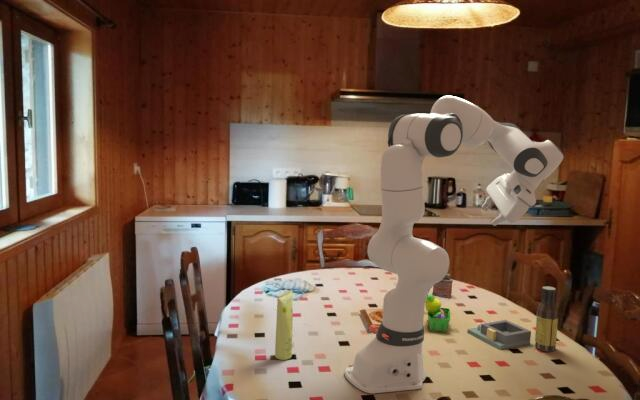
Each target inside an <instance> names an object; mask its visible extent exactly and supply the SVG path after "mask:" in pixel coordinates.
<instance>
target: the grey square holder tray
mask: <svg viewBox="0 0 640 400" xmlns="http://www.w3.org/2000/svg"><path fill="white" fill-rule="evenodd" d="M490 322H495V321H494V320H491V321H486V323H490ZM484 323H485V322H484V321H483V322H482V323H480V322H477V326H476V327H472V328H468V329H467V333H468V334H470V335H471V336H473V337H475V338H477V339H479V340H481V341H483V342H485V343H487V344H488V345H490V346H492V347H494V348H496V349H498V350H503V349H504V350H505V349H509V348H515V347H520V346H524V345H525V346H526V345H529V344H531V339H530V340H528V341H523V342H518V343H513V344H508V345H504V344H502V343H500V342H498V341H496V340H495V341H492V340H490V339H488V338H486V335H484V334H482V333H480V332H481V324H484ZM502 332H504V333H510V332H508V331H505V330H504V331H502Z"/></svg>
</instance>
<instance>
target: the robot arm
mask: <svg viewBox="0 0 640 400" xmlns="http://www.w3.org/2000/svg"><path fill="white" fill-rule="evenodd" d="M486 142H487V143H488V145H489V146H490V148H491V149H492V150H493V151H494V152H495V153H496V154H497V155H499V157H501V158H502V160H503V161H504V162H505V163H506V164H507V165H508V166H509V167H510V168H511V169H512V171H511V172H510V173H509V172H507V173H503V174H501V175H500V176H498V177H496V178H495V179H494V180H493V181H492V182H491V183H489V184H488V185H487V187H486V189H485V191H486V193H487V194H488V195H487V197H486V198H485V201H484V203H483V204H482V205H481V209H482V210H483V211H485V212H487V211H488V210H489V209H490V206H491V204H492V203H494V204H495V206H496V208H497V209H498V211H499V212H500V213H498V216H497V217H492V219H490V223H491V225H492V226H494V227H495V226H497V225H498V224H499V223H502V222H505V221H508V223H510V224H513V223H516V222H517V221H519V220H520V219H521V218H523V216H524V215H525V214H526V213H527V212H528V210H529V209H530V207H533V206H535V205H536V204H537V199H536V193H535V190H536V189H537V188H538V187H539V185H540V184H541V182H543V181H544V180H546V179H547V178H549V177H550V176H551V175H552V174H553V173H554V172H555V171H556V169H557V168H558V167H559V166H560V165H561V163H562V162H563V159H564V153H563V151H562V150H561V149H560V148H559V147H558V146H557V144H555V142H553V141H552V140H549V139H546V140H545V141H541V142H540V141H535V140H531V139H530V138H529V136H527V134H525V133H524V132H523V131H522V130H521V129H520V128H519V126H518V125H516V124H515V123H510V122H499V121H496V120H494V119H493V118H492V116H491V115H490V114H488V113H487V112H486V111H485V110H484V109H482V108H481V107H479V105H476V104H474V103H472V102H470V101H468V100H466V99H464V98H461V97H458V96H453V95H443V96H442V97H440V98H438V99H437V100H436V101H435V102H434V103H433V105H432V107H431V109H430V113H424V112H423V113H406V114H401V115H399V116H397V117H395V118H394V119H393V120H392V121H391V123H390V125H389V128H388V133H387V146H388V147H386V149H385V150H384V151H383V153H382V155H381V164H380V191H381V192H380V195H381V221H380V225H379V228H378V230H377V232H376V233H375V234H373V235H372V237H371V238H370V239H369V242H368V245H367V250H366V251H367V257H368V259H369V260H370V262H372V264H374V265H376V267H379V268H380V269H381V270H383V271H386V272H388V273H391V274H392V273H393V274H395V275H397V277H398V279H397V284H396V286H395V287H394V288H392V289H391V290H389V291H388V292H387V293H385V295H384V297H383V303H382V304H383V305H382V321H381V323H380V325H379V327H378V326H376V325H375V324H371V325H370V326H369V328H368V330H369V331H370V332H371V333H372V334H375V337H374V338H373V339H372V340H370V341H369V342H368V343H366V345H365V346H363V347H361V349H359V350H358V351H357V352H356V354H355V357H354V361H353V365H352V366H349V367H346V368H345V369H344V375H345V377H346V380H347V381H348V382H350V384H351V385H353V386H354V387H356V389H358V390H360V391H362V392H364V393H367V394H381V393H382V394H383V393H389V392H391V393H392V392H401V391H403V392H404V391H412V390H420V389H422V388H423V382H425V380H426V378H427V374H426V371H425V365H424V358H423V357H424V355H423V342H424V339H425V325H424V316H425V309H426V307H425V304H426V303H425V302H426V298H427V295H429V293H430V292H431V289H433V286H434V285H435V284H436V283H438V282H440V281H441V280H442V279H443V278H444V277H445V276H446V274H448V272H449V269H450V257H449V254H448V252H447V251H446V250H445V248H443V247H441V246H439V245H438V244H436V243H434V242H433V241H429V240H427V239H422V238H417V237H414V235H413V227H414V224H416V223H417V222H419V221H420V220H422V218H423V216H424V215H425V213H426V212H425V211H426V208H425V207H426V206H425V190H424V189H425V188H424V187H425V186H424V175H423V170H422V167H423V163H424V160H425V157H428V158H431V157H435V158H447V157H451V156H452V155H454V154H455V153H456V152H457V151H458V150H459V148H460V146H461V145H463V146H465V147H469V148H476V147H480V146H481V145H484V143H486Z"/></svg>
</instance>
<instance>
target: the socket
mask: <svg viewBox="0 0 640 400" xmlns="http://www.w3.org/2000/svg"><path fill="white" fill-rule="evenodd" d="M489 322H490V323H487V322H484V324H482V323H480V324H481V326H480V327H481V332H480V333H482V334H484V335H486V338H488V339H490V340H492V341H495V340H496V341H498V342H500V343H502V344H504V345H508V344H513V343H518V342H523V341H528V340H530V341H531V338H532V337H531V335H532V330H529V329H527V328H525V327H522V326H520V325H519V324H516V323H514V322H511V321H509V320H507V319H502V320H497V321H494V322H491V321H489ZM504 330H505V331H508V332H510V333H504V332H502V331H504Z"/></svg>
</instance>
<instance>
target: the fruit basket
mask: <svg viewBox="0 0 640 400" xmlns="http://www.w3.org/2000/svg"><path fill="white" fill-rule="evenodd" d="M425 310H426V311H427V319H428V323H429V329H430V331H435V332H444V333H446V332H447V329H448V325H449V323H450V321H451V319H452V318H451V309H450V308H447V307H446V308H445V307H442V303H441V301H440V300H439V299H438V298H436V296H434V295H432V294H428V295H427V298H426V302H425Z"/></svg>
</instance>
